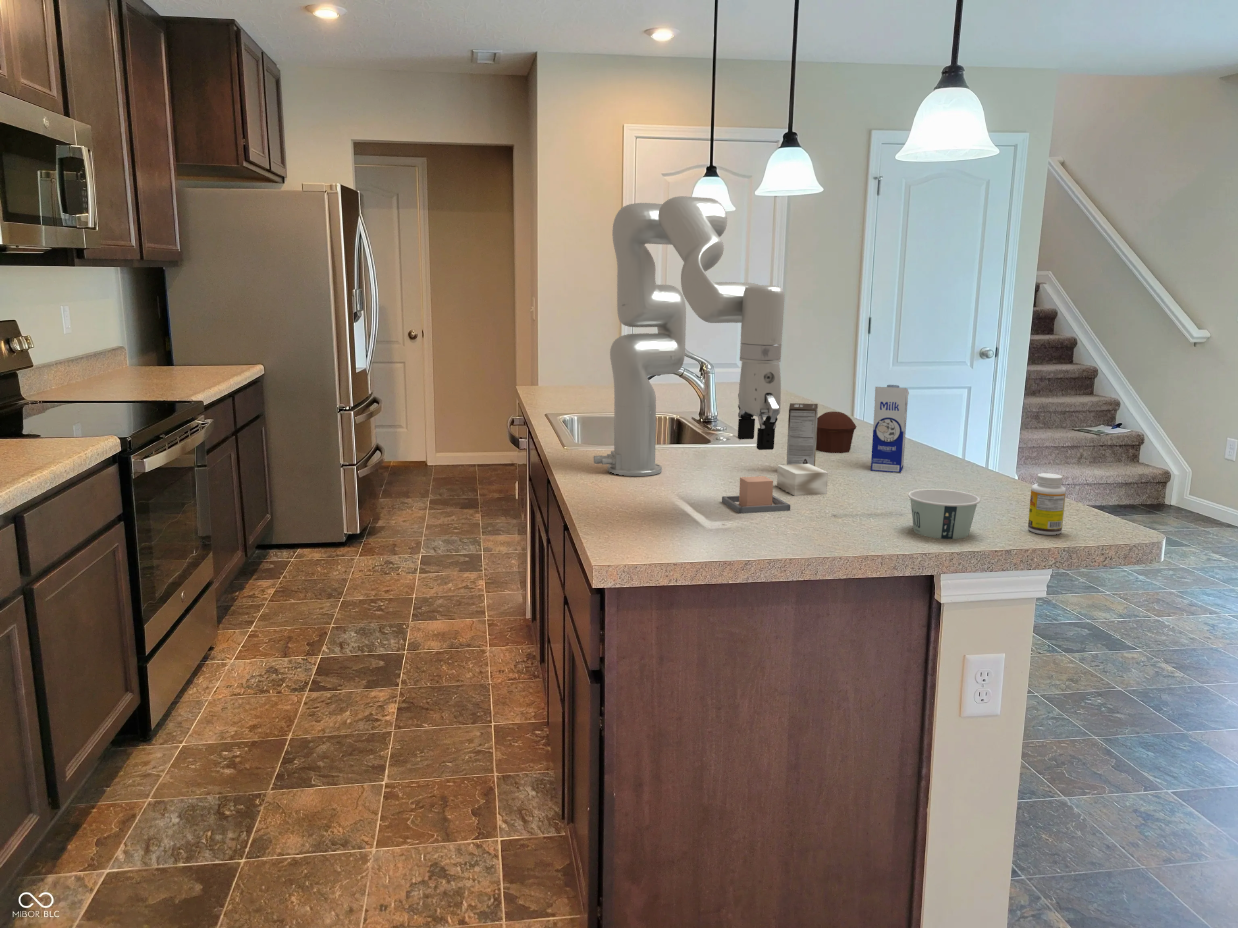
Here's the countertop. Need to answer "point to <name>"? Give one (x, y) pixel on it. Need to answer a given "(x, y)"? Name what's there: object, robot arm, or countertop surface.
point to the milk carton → (889, 428)
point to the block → (755, 491)
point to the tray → (754, 509)
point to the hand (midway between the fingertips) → (755, 444)
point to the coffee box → (802, 433)
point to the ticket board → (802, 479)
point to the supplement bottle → (1047, 505)
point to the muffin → (834, 432)
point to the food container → (942, 512)
